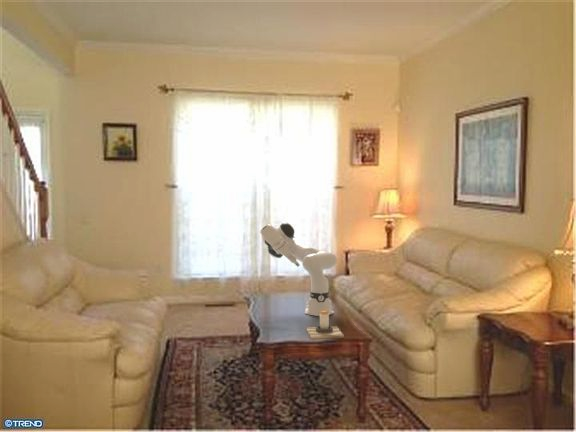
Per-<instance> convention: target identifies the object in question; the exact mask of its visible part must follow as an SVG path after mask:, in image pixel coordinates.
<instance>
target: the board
mask: <svg viewBox="0 0 576 432" xmlns="http://www.w3.org/2000/svg"><path fill="white" fill-rule="evenodd" d="M305 330H306V331H307V332H306V333H307V334H308V336H309V338H310V340H311V339H313V340H314V339H341V338H343V339H344V337H345V335H344V333H343V332H342V331H341V329H340V328H339V327H338V326H337V325H335V326H332V325H331V326H330V325H329V329H320V325H318V326H306V327H305Z"/></svg>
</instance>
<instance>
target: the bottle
mask: <svg viewBox="0 0 576 432" xmlns="http://www.w3.org/2000/svg"><path fill="white" fill-rule="evenodd" d="M319 326H320V329H329V326H330V315H329V313H328V311H326V310H322V311H320V316H319Z"/></svg>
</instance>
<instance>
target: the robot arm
mask: <svg viewBox="0 0 576 432" xmlns="http://www.w3.org/2000/svg"><path fill="white" fill-rule="evenodd" d="M259 233H260V234H261V236H262V241H263V243H264V244H265V245H266V246H267V248H268V249H267V252H268V254H269V255H270V256H271V257H272V258H274V259H275V258H276V259H282V257H283V256H284V257H285V258H286V259H288V261H289V262H291V264H294V265H295V266H296V267H298V268H299V266H300V263H299V261H300V262H301V263H302V267H303V269H304V271H306V272H307V273H308V275H309V277H310V291H309V293H310V294H309V297H310V298H309V299H308V301H306V304H305V305H306V308H305V310H304V314H305V315H311V316H317V317H320V311H322V310H326V311H328V313H329V316H330V315H332V314H335V311H334V310H333V309H332V300H331V299H330V292H329V279H328V277H326V276H325V275H324V272H323V271H327V270H330V269H332V268H335V267H336V265H337V262H338V258H337V256H336V254H335V253H333V252H330V251H329V252H328V251H323V250H321V249H318V248H313V247H310V246H308V245H306V244H304V243H301V242H299V241H296V240H294V238H295V229H294V227H293V226H292V225H291V224H290V223H288V222H281V224H280V225H278V227H277V226H276V227H274V226H273V225H272V224H269V223H268V224H266V225H264V227H263V228H261V229H260V232H259Z"/></svg>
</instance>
